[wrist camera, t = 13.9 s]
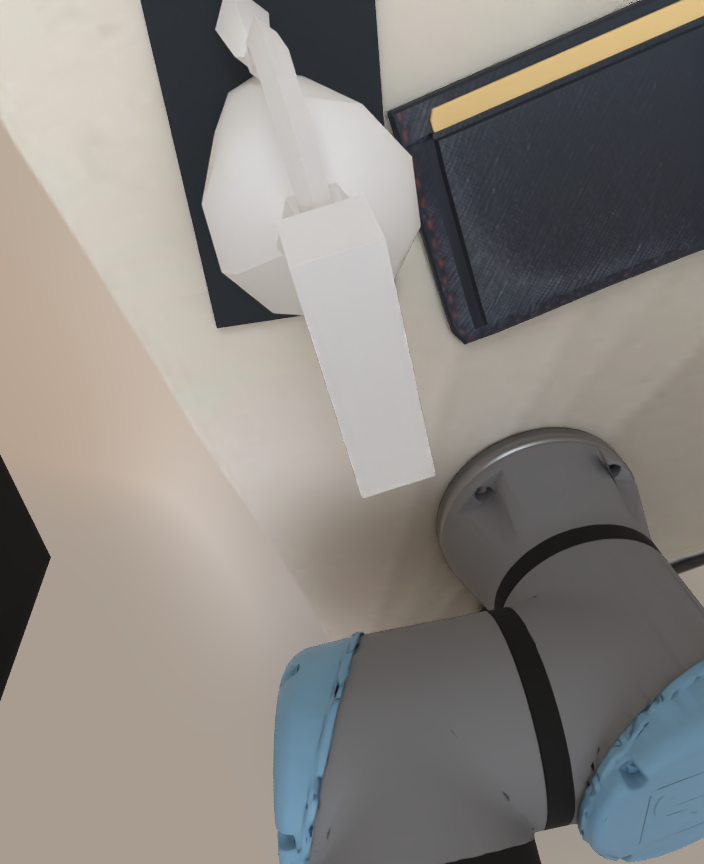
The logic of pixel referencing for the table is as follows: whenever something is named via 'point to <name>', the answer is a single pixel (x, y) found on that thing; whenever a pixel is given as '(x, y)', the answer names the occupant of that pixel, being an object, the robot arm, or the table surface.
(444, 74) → the table surface
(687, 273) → the table surface
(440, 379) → the table surface
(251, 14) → the fire extinguisher
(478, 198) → the wallet
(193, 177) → the mat
